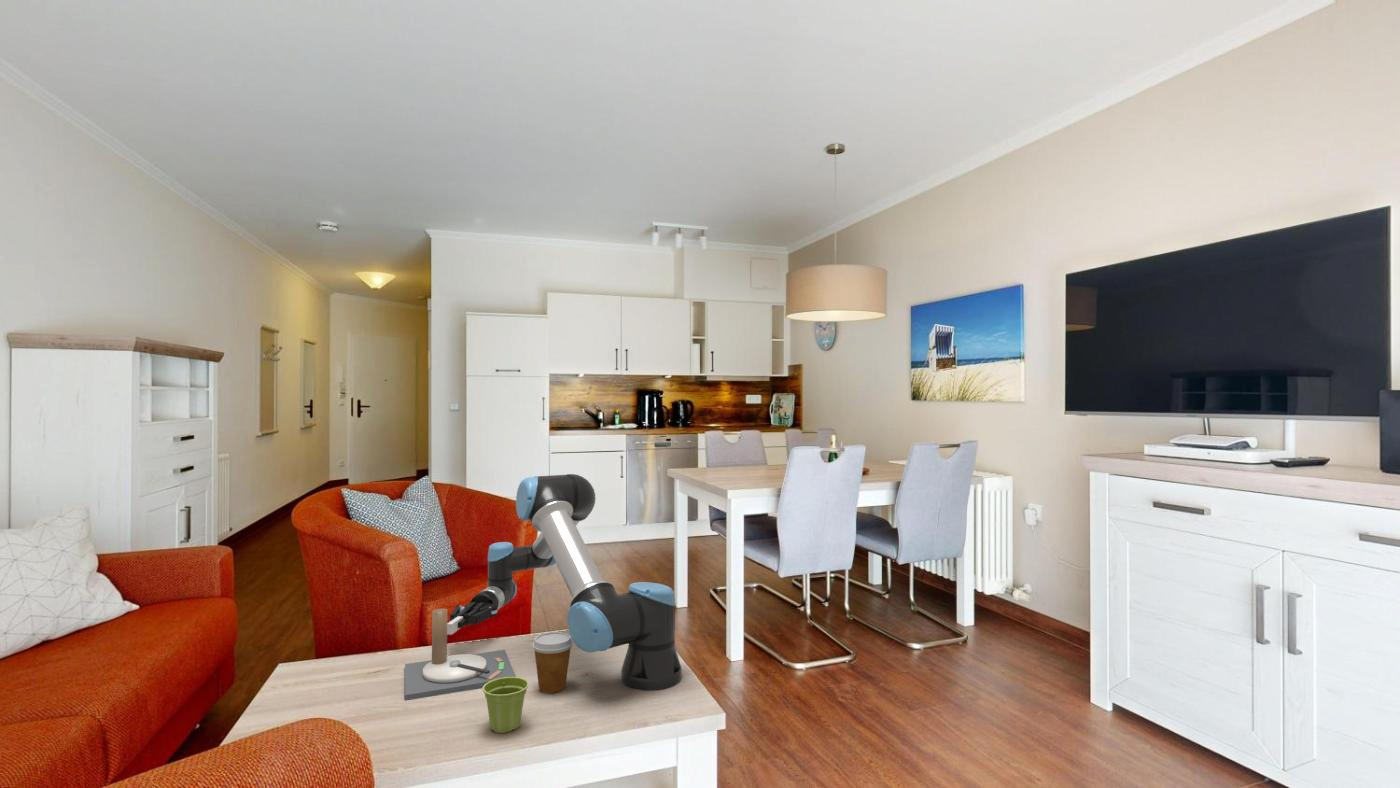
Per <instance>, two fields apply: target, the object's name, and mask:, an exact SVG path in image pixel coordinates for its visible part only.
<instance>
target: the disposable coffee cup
mask: <svg viewBox="0 0 1400 788" xmlns="http://www.w3.org/2000/svg"><path fill="white" fill-rule="evenodd" d="M573 643H574V642H573V640H572V638H571V636H570V633H569V634H568V633H567V632H564V631H563V632H562V631H552V632H544V633H541V634H539V635H537V636H536V637H534V641H533V643H532V648H533V650H534V656H535V666H536V674H537V681H538V683H537V684H538V690H539V692H541V693H544V694H558V693H560V692H562V691H564V690H565V689H566V685H567V679H568V670H569V665H570V656H571V655H570V654H571V649H572V645H573Z"/></svg>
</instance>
